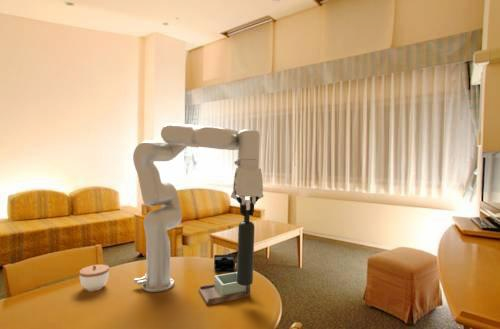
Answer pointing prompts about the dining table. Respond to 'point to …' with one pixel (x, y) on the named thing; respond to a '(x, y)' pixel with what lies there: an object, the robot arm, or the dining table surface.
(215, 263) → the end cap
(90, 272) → the lidded jar
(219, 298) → the rail board
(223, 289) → the socket block
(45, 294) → the dining table surface
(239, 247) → the wine bottle
